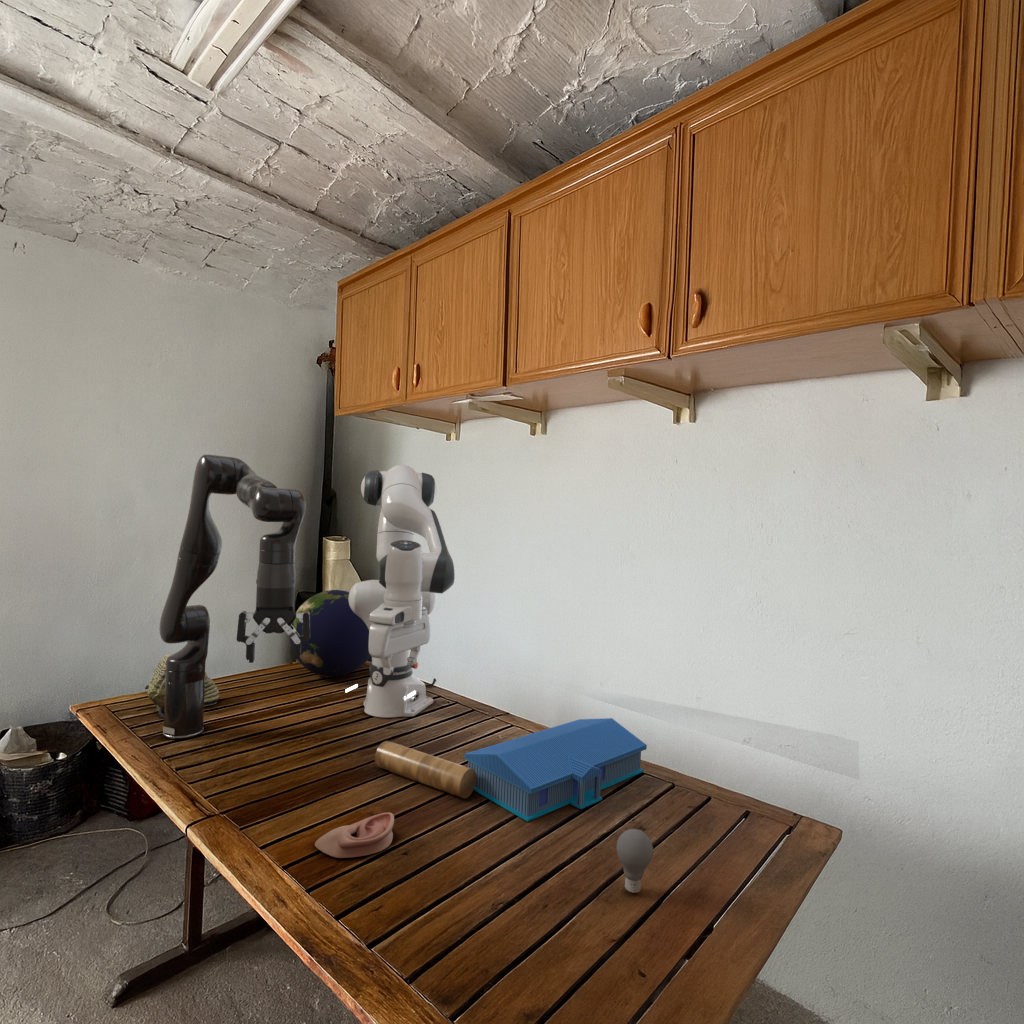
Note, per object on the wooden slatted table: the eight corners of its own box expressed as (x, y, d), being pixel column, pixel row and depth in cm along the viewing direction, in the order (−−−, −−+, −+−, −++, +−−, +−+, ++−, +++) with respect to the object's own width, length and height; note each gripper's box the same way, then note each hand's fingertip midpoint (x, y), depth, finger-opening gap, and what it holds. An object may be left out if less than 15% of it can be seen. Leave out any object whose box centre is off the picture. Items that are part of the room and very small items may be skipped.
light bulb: (610, 879, 108) (613, 822, 108) (644, 879, 109) (647, 822, 109) (619, 902, 102) (622, 840, 102) (655, 901, 103) (658, 840, 103)
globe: (268, 679, 214) (272, 591, 213) (326, 660, 242) (329, 582, 241) (341, 693, 203) (345, 600, 202) (393, 671, 230) (396, 589, 230)
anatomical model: (306, 830, 112) (337, 801, 124) (305, 853, 112) (336, 821, 124) (376, 842, 110) (401, 811, 121) (375, 865, 110) (400, 831, 121)
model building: (538, 828, 124) (540, 777, 124) (462, 783, 143) (463, 739, 142) (655, 776, 151) (657, 734, 151) (578, 743, 169) (579, 706, 169)
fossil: (144, 707, 182) (145, 655, 182) (212, 696, 194) (213, 647, 194) (151, 716, 175) (153, 662, 175) (221, 703, 188) (223, 653, 188)
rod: (478, 785, 140) (473, 762, 138) (462, 804, 135) (457, 781, 133) (395, 756, 153) (390, 735, 151) (377, 773, 148) (372, 751, 146)
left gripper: (313, 582, 137) (310, 656, 137) (242, 581, 134) (240, 657, 134) (310, 587, 130) (307, 665, 130) (236, 586, 126) (233, 667, 127)
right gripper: (416, 603, 159) (413, 658, 159) (364, 615, 140) (362, 677, 140) (437, 606, 156) (435, 662, 156) (388, 618, 137) (385, 682, 138)
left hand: (273, 661), depth 132 cm, fingers open, 8 cm apart
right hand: (400, 669), depth 148 cm, fingers open, 8 cm apart
